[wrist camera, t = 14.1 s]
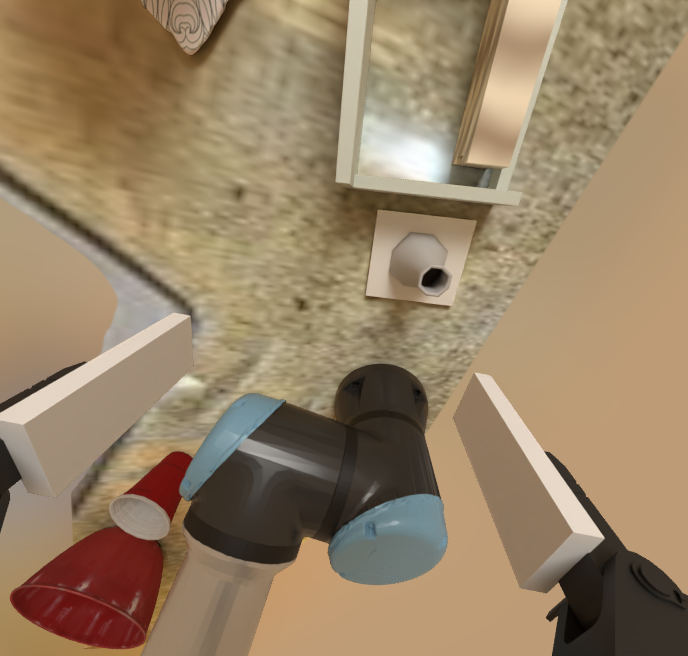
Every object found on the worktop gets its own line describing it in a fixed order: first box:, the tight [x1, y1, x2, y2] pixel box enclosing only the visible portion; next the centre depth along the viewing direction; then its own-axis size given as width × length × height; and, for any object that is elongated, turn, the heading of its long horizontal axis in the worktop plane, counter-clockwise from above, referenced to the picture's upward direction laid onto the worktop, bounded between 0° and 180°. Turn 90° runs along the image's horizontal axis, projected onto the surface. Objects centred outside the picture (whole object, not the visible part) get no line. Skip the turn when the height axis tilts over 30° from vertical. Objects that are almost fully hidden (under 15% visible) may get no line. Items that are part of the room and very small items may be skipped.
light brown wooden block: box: [452, 0, 562, 169], centre depth 25 cm, size 17×4×6 cm, turn 174°
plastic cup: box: [109, 451, 193, 540], centre depth 51 cm, size 11×11×12 cm
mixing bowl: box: [10, 526, 163, 649], centre depth 65 cm, size 28×28×15 cm
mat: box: [366, 209, 477, 306], centre depth 36 cm, size 11×12×1 cm
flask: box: [389, 232, 453, 297], centre depth 31 cm, size 7×7×10 cm
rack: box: [335, 0, 568, 206], centre depth 23 cm, size 23×18×12 cm
